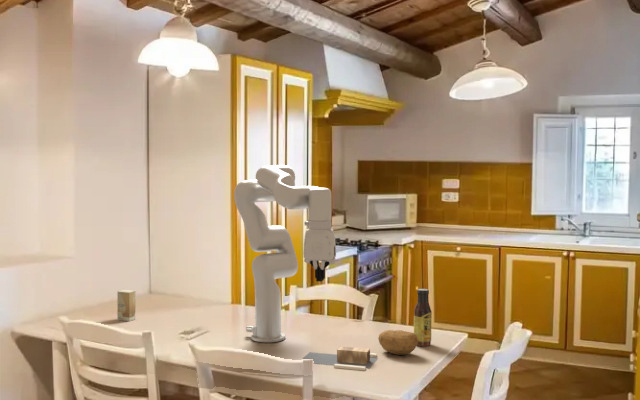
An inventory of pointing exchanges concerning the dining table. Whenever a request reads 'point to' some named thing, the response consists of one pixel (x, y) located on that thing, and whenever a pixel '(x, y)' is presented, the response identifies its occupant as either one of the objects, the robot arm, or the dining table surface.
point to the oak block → (353, 355)
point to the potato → (398, 341)
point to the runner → (332, 360)
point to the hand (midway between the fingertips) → (320, 280)
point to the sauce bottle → (423, 318)
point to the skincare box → (126, 305)
